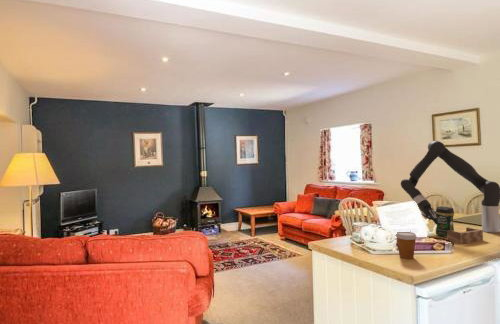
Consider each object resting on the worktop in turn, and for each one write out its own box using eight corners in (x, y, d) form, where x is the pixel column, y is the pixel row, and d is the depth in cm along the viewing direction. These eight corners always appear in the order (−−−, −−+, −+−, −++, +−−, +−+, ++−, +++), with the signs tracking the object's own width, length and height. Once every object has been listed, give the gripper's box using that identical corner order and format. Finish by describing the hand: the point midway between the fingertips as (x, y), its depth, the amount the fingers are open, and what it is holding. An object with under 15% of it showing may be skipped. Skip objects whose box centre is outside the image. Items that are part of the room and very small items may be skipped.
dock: (468, 237, 199) (467, 227, 199) (482, 240, 191) (482, 230, 191) (447, 240, 193) (446, 230, 193) (461, 243, 184) (461, 233, 184)
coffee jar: (433, 235, 206) (433, 206, 206) (440, 233, 210) (440, 205, 210) (449, 238, 197) (449, 208, 197) (456, 236, 201) (456, 207, 201)
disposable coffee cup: (416, 261, 155) (415, 236, 155) (394, 258, 160) (394, 234, 160) (417, 256, 164) (417, 232, 163) (397, 253, 169) (397, 230, 168)
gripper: (418, 200, 214) (434, 221, 203) (432, 198, 219) (449, 219, 208) (411, 206, 219) (427, 228, 208) (425, 205, 224) (442, 226, 213)
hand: (438, 224), depth 208 cm, fingers closed
